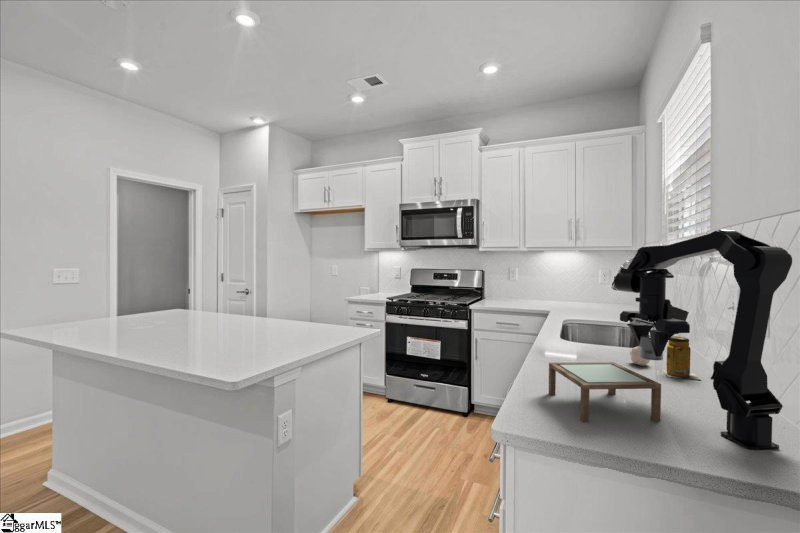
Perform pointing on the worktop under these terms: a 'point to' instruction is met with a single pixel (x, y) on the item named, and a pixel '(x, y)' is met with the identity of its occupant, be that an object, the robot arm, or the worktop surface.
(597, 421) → the worktop surface
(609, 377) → the trapdoor
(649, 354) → the cylinder
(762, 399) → the robot arm
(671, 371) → the condiment
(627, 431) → the worktop surface
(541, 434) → the worktop surface
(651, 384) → the stand
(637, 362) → the garlic bulb
